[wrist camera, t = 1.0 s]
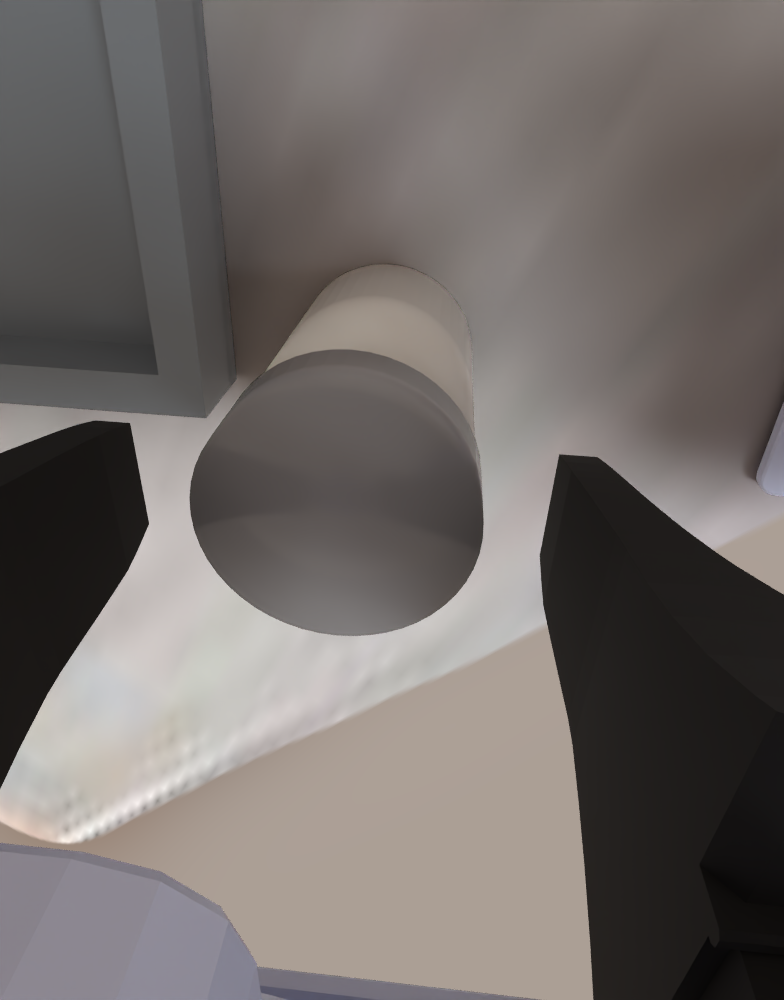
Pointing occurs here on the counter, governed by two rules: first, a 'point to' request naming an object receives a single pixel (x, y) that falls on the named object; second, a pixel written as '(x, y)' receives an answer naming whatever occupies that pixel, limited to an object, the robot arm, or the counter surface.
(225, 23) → the counter surface
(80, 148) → the tray
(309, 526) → the shaker
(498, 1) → the counter surface
